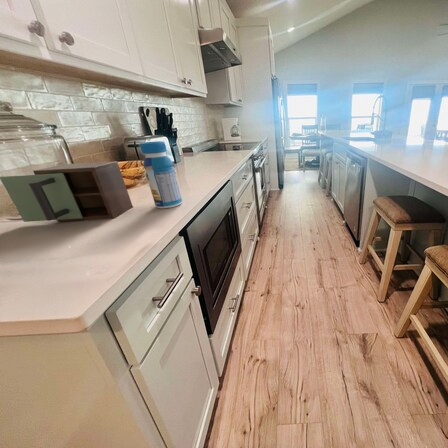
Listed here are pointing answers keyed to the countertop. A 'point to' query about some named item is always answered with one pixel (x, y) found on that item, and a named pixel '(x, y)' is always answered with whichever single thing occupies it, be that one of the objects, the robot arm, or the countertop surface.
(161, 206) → the beverage bottle
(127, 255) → the countertop surface
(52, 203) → the sliding door
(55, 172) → the cabinet
